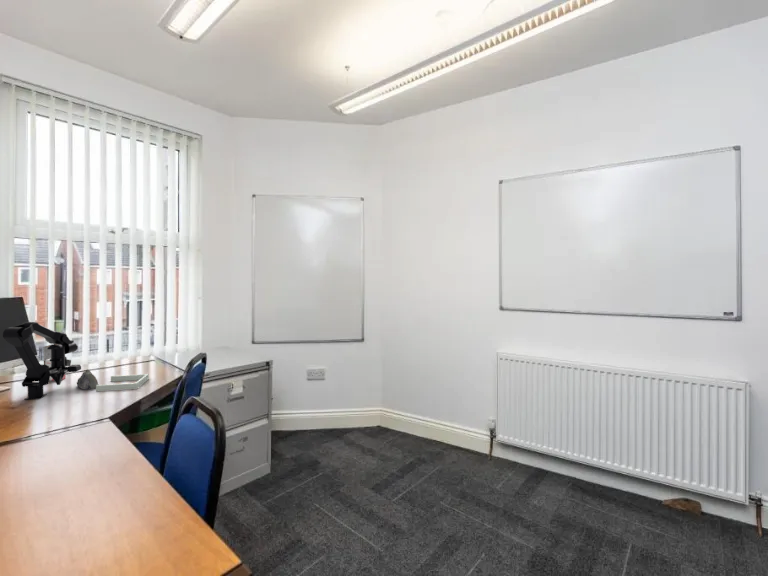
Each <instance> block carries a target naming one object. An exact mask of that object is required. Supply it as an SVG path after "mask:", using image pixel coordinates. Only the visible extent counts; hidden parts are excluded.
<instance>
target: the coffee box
mask: <svg viewBox="0 0 768 576" xmlns="http://www.w3.org/2000/svg"><path fill="white" fill-rule="evenodd" d="M50 345H60V344H49V345H46V346H43V365H45V360H48V359H51V349H47V348H48V347H49V346H50Z"/></svg>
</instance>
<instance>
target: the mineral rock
mask: <svg viewBox="0 0 768 576" xmlns="http://www.w3.org/2000/svg"><path fill="white" fill-rule="evenodd" d="M96 385H100V384H99V382H98V379H97V378H96V376H95V375H94V374H93V373H92V372H91V370H89V369H86V370H84V371H83V372H82V374H81V376H79V378H78V379H77V381H76V386H77V387H78V388H80V389H82V390H94V389H96Z"/></svg>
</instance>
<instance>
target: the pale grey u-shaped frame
mask: <svg viewBox="0 0 768 576" xmlns="http://www.w3.org/2000/svg"><path fill="white" fill-rule="evenodd" d="M149 378H150V376H149V373H143V374H125V375H110V382H126V381H127V382H128V381H136V382H133V383H132V382H128V383H113V384H112V383H111V384H109V383H108V384H99V385H96V388H95V391H96V392H105V391H106V392H107V391H121V390H136V389H138V388H140V387H141V386H142V385H143V384H145V383H146V382H148V380H149Z"/></svg>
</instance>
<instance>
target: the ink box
mask: <svg viewBox="0 0 768 576" xmlns="http://www.w3.org/2000/svg"><path fill="white" fill-rule="evenodd" d="M45 365H47V366H49V367H51V361H50V359H48V360H45ZM65 367H67V366H65ZM66 374H67V373H65V375H64V376H63V379H62V381H63V380H65V379H67V377H66ZM49 381H54V379H53V378H52V377H51V376H50V378H49ZM54 382H55V381H54Z"/></svg>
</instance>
